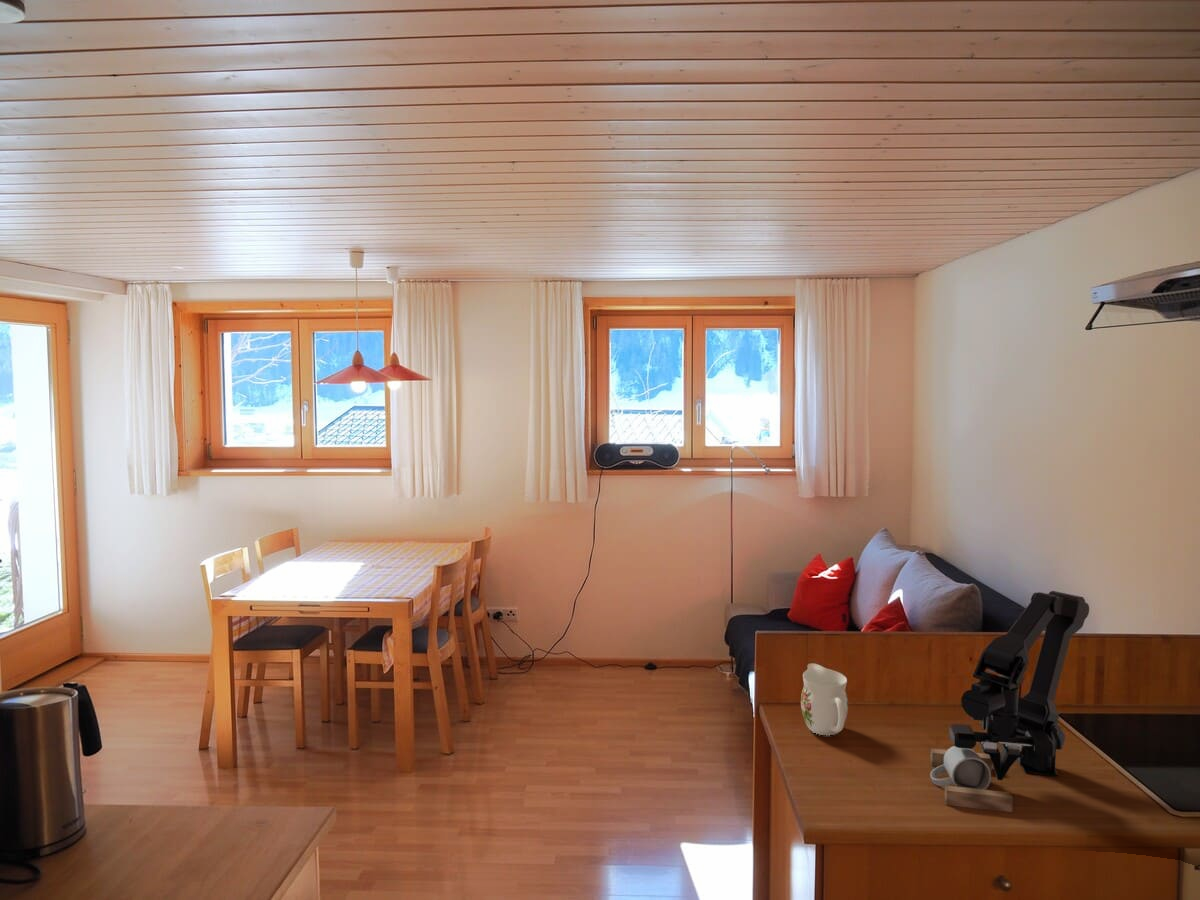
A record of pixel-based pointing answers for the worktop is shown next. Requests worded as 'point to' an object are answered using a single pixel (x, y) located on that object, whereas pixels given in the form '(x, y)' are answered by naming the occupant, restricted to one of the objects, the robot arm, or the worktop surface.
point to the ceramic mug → (963, 769)
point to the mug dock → (973, 790)
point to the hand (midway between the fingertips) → (999, 779)
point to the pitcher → (824, 700)
